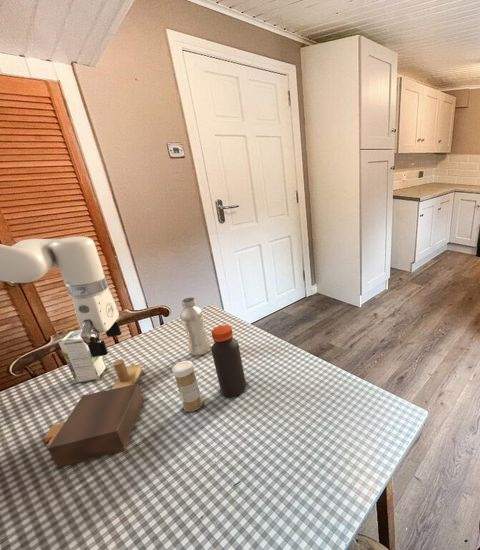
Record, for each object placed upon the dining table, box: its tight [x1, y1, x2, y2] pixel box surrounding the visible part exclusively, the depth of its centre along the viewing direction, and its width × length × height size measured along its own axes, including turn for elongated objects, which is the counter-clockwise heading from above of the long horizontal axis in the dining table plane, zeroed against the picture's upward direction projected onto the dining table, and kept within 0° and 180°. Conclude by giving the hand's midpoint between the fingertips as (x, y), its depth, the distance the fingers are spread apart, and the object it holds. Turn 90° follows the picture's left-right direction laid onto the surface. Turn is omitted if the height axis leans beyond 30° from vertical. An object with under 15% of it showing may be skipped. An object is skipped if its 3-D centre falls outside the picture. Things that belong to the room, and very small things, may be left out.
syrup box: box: [58, 329, 107, 384], centre depth 90 cm, size 6×6×14 cm
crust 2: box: [46, 431, 59, 449], centre depth 69 cm, size 4×4×1 cm
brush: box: [111, 358, 144, 389], centre depth 86 cm, size 13×4×10 cm, turn 19°
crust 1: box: [43, 422, 65, 443], centre depth 73 cm, size 4×4×1 cm
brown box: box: [47, 383, 145, 469], centre depth 73 cm, size 13×16×6 cm
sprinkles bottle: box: [171, 360, 204, 413], centre depth 79 cm, size 5×5×14 cm
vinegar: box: [210, 324, 247, 398], centre depth 84 cm, size 7×7×20 cm
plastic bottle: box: [179, 297, 211, 356], centre depth 100 cm, size 6×7×20 cm
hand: (107, 345), depth 81 cm, fingers open, 9 cm apart
